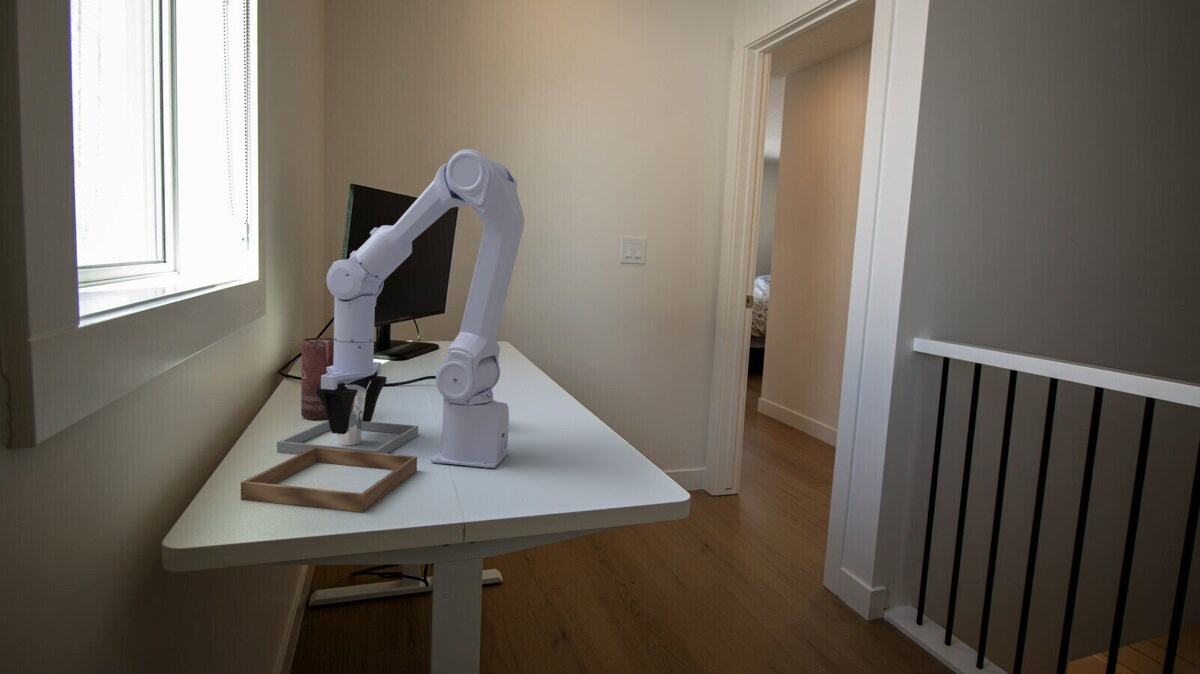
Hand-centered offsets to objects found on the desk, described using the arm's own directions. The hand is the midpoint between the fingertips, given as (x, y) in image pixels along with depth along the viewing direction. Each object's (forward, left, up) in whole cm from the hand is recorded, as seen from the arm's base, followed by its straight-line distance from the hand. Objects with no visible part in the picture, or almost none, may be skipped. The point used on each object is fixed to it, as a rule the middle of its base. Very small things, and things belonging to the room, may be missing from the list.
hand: (352, 426), depth 95 cm
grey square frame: (0, 0, -3) cm, 3 cm away
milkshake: (0, 0, -3) cm, 3 cm away
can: (+13, -13, -3) cm, 19 cm away
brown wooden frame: (-7, +17, -3) cm, 19 cm away
